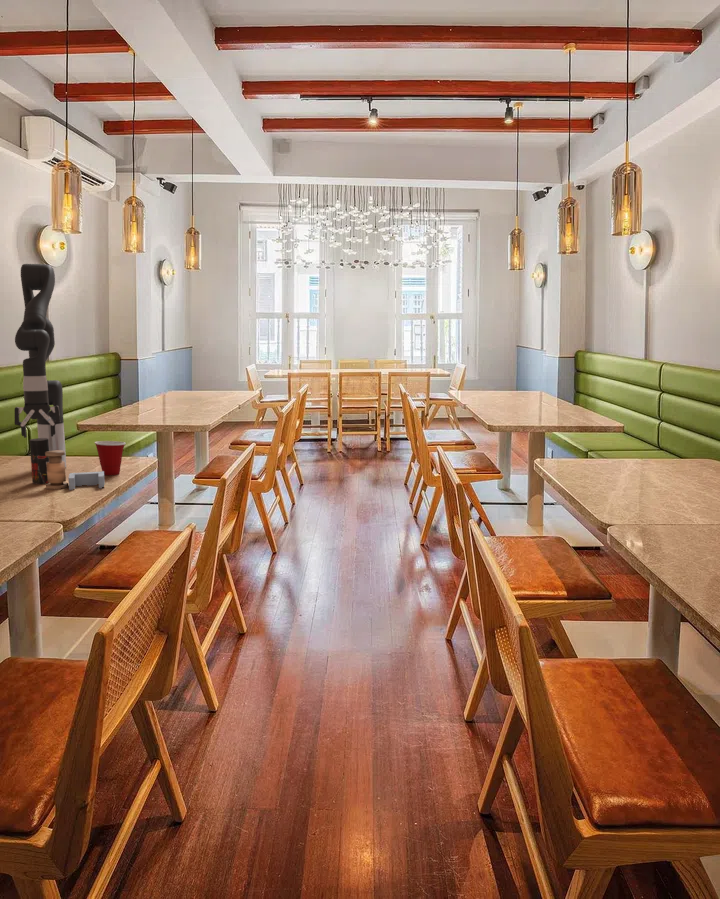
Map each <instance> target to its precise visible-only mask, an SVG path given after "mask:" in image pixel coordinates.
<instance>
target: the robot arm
mask: <svg viewBox="0 0 720 899" xmlns="http://www.w3.org/2000/svg"><path fill="white" fill-rule="evenodd" d="M20 283H21V288H22V296H23V302H24V303H23V304H24V313H23V320H22V322H21V325H20V326H19V327H18V329H17V330H16V333H15V336H14V343H15V346H16V347H17V349H18V350H19V351H23V352H25V351H26V352H28V357H27V358H24V359H23V360H22V372H23V381H22V389H23V398H24V399H23V400H24V401H23V402H24V407H19V406H16V407H14V425H15V426H19V427H20V431H21V434H20V435H21V436H22V437H23V438H25V439H27V437H28V436H27V434H28V433H27V426H26V425H27V422H29V420H30V419H31V420H36V423H37V424H36V426H37V438H47V439H48V440H49V451H56V450H61V451H65V455H62V461H64V462H65V467H66V468H67V455H66V454H67V453H66V442H65V440H66V439H65V423H64V407H63V406H64V404H63V403H64V402H63V401H64V399H63V391H64V390H63V384H62V382H61V381H59V380H58V379H57V380H56V379H55V380H49V379H48V380H47V370H46V362H47V360H48V359H49V357H50V355H51V354H52V352H53V350H54V348H55V345H56V343H55V342H56V341H55V333H54V332H55V331H54V325H53V324H52V321H50V319H49V318H48V316H47V313H48V309H49V305H50V302H51V299H52V295H53V292H54V289H55V285H56V275H55V270H54V268H53V266H52V265H50V264H46V263H22V265H21V267H20ZM34 291H39V292H38V293H37V294H36V295H35V294H34ZM22 412H24V413H25V414H26V416H25V418H24V419H23V420H22V421H20V415H21V414H22Z"/></svg>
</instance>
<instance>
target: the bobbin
mask: <svg viewBox="0 0 720 899" xmlns="http://www.w3.org/2000/svg"><path fill="white" fill-rule="evenodd" d="M65 452H66V450H65V451H61V450H56V451H47V452H45V456H49V462H47V477H48V483H47V484H45V489H46V488H47V489H46V490H53V489H54V490H62V489H61V488H64V489H66V488H65V487H67V488H69V482H66V479H67V477H66V468H65V462H64V461H62V455H65Z"/></svg>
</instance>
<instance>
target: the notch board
mask: <svg viewBox="0 0 720 899" xmlns="http://www.w3.org/2000/svg"><path fill="white" fill-rule="evenodd" d="M67 480H68V491H74V490H73V489H75V490H76V487H83V486H82V485H87V486H98V489H103V488H102V487H104V485H105V484H106V483H105V475H104V471H102V470H101V471H88V472H87V471H86V472H83V471H82V472H70V473H69V474H68V479H67ZM97 484H99V485H97ZM75 486H76V487H75Z"/></svg>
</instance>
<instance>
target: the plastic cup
mask: <svg viewBox="0 0 720 899" xmlns="http://www.w3.org/2000/svg"><path fill="white" fill-rule="evenodd" d="M94 445H95V447H96V451H97V453H98V459H99V463H100V464H99V465H100V468H101V471H104V476H118V475H120V472H121V466H122V458H123V452H124V448H125V445H126V442H125V441H118V440H117V441H115V440H100V441H99V440H98V441H94Z"/></svg>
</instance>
